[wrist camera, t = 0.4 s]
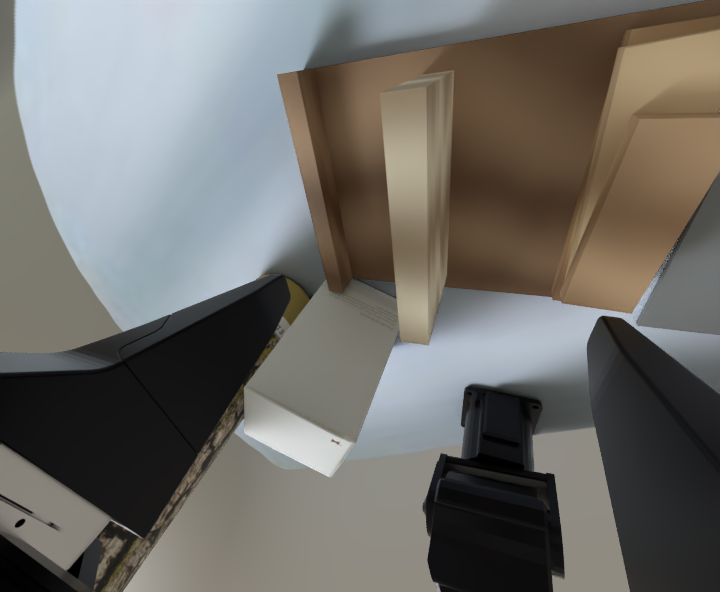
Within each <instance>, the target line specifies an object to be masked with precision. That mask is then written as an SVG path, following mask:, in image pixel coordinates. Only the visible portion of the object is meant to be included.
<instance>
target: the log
mask: <svg viewBox="0 0 720 592" xmlns="http://www.w3.org/2000/svg"><path fill="white" fill-rule="evenodd" d="M265 276H268V275H263V276H261V277H259V278H257V279H256V280H258V279H260V278H263V277H265ZM286 280H287V283H288V287H289V290H290V294H291V299H290V302H289V304H288V306H287V308H286V310H285V312H284V314H283V316H282V318H281V320H280V323H279V325H278V327H277V329H276V331H275V333H274V334H273V336H272V338H271V340H270V341H269V343H268V345H267V346H266V348H265V349H264V351H263V353H262V354H261V356H260V357H259V359H258V361H257V362H256V364H255V365H254V367H253V368H252V370H251V372H250V373H249V375H248V376H247V378H246V380H245V381H244V383H243V384H242V386H241V388H240V389H239V391H238V392H237V394H236V396H235V397H234V399H233V400H232V402H231V403H230V405H229V407H228V408H227V410H226V411H225V413H224V415H223V416H222V418H221V419H220V421H219V423H218V424H217V426H216V427H215V429H214V430H213V432H212V434H211V435H210V437H209V438H208V440H207V442H206V443H205V445H204V446H203V448H202V450H201V451H200V453H199V454H198V456H197V458H196V459H195V461H194V463H193V464H192V466H191V467H190V469H189V471H188V472H187V474H186V475H185V477H184V479H183V480H182V482H181V483H180V485H179V487H178V488H177V490H176V491H175V493H174V494H173V496H172V498H171V499H170V501H169V502H168V504H167V506H166V507H165V509H164V510H163V512H162V514H161V515H160V517H159V518H158V520H157V522H156V523H155V525H154V526H153V528H152V529H151V531H150V532H149V534H148V535H147V536H146V538H145V539H142V538H141V537H139V536H137V535H135V534H134V533H132V532H130V531H129V530H127V529H125V528H123V527H122V526H120V525H118V524H116V523H115V522H113V521H111V520H110V521H109V523H108V524H107V525H106V526H105V527H104V529H103V530H102V531H101V532H100V533H99V534H98V536H97V537H96V538H97V539H98V540H100V541H102V542H103V545H102V550H101V555H100V560H99V565H98V570H97V575H96V580H95V585H94V590H93V591H95V592H123V590H124V589H125V588H126V586H127V585H128V583H129V582H130V580H131V579H132V578H133V576H134V574H135V573H136V572H137V570H138V569H139V567H140V566H141V565H142V563H143V562H144V560H145V559H146V557H147V556H148V555H149V553H150V552H151V550H152V549H153V547H154V546H155V545H156V543H157V542H158V540H159V539H160V537H161V536H162V534H163V533H164V532H165V530H166V529H167V527H168V526H169V525H170V523H171V522H172V520H173V519H174V517H175V516H176V515H177V513H178V512H179V510H180V509H181V507H182V506H183V504H184V503H185V502H186V500H187V499H188V497H189V496H190V494H191V493H192V492H193V490H194V489H195V487H196V486H197V484H198V483H199V481H200V480H201V479H202V477H203V476H204V474H205V473H206V471H207V470H208V469H209V467H210V466H211V464H212V463H213V462H214V460H215V458H216V457H217V456H218V454H219V453H220V452H221V450H222V449H223V447H224V446H225V444H226V443H227V441H228V440H229V439H230V437H231V436H232V434H233V433H234V431H235V430H236V429H237V427H238V426H239V424H240V423H241V421H242V420H243V419H244V387H245V385H246V384H247V383H248V382H249V380H250V379H251V378H252V377H253V375H254V374H255V373H256V371H257V370H258V369H259V367H260V366H261V365H262V363H263V362H264V361H265V359H266V358H267V357H268V355H269V354H270V353H271V351H272V350H273V349H274V347H275V346H276V345H277V343H278V342H279V341H280V339H281V338H282V337H283V335H284V334H285V333H286V331H287V330H288V329H289V328H290V326H291V325H292V323H293V322H294V321H295V319H296V318H297V317H298V315H299V314H300V313H301V311H302V310H303V309H304V307H305V306H306V305H307V303H308V302H309V301H310V299H309V297H308V296H307V294H306V293H305V292H304V290H303V289H302V288H301V287H300V286H299V285H297V284H296V283H295V282H293V281H292V280H290V279H288V278H286Z"/></svg>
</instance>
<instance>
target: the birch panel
mask: <svg viewBox="0 0 720 592" xmlns="http://www.w3.org/2000/svg"><path fill="white" fill-rule="evenodd" d="M453 91H454V70H452V71H445V72H438V73H431V74H424V75H420V76H418V77H415V78H413V79H411V80H408V81H406V82H404V83H401V84H399V85H397V86H394V87H392V88H390V89H387V90H385V91H383V92H380V104H381V116H382V128H383V140H384V152H385V164H386V176H387V188H388V200H389V212H390V224H391V236H392V248H393V260H394V272H395V284H396V296H397V308H398V320H399V332H400V341H405V342H411V343H417V344H423V345H429V341H430V338H431V334H432V330H433V326H434V323H435V319H436V315H437V311H438V307H439V304H440V300H441V296H442V292H443V289H444V285H445V281H446V277H447V260H448V232H449V203H450V175H451V147H452V119H453Z"/></svg>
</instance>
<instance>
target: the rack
mask: <svg viewBox="0 0 720 592" xmlns="http://www.w3.org/2000/svg"><path fill="white" fill-rule="evenodd" d="M718 15H720V0H706V1H700V2H694V3H689V4H683V5H677V6H671V7H666V8H660V9H654V10H648V11H643V12H637V13H631V14H625V15H619V16H614V17H608V18H602V19H596V20H591V21H585V22H579V23H573V24H568V25H562V26H556V27H550V28H544V29H539V30H533V31H527V32H521V33H516V34H510V35H504V36H498V37H493V38H487V39H481V40H475V41H470V42H464V43H458V44H452V45H446V46H441V47H435V48H429V49H423V50H418V51H412V52H406V53H400V54H395V55H389V56H383V57H377V58H372V59H366V60H360V61H354V62H348V63H343V64H337V65H331V66H325V67H320V68H314V69H308V70H301V71H295V72H290V73H284V74H278V75H277V77H278V81H279V85H280V89H281V93H282V97H283V102H284V106H285V110H286V114H287V118H288V122H289V126H290V131H291V135H292V139H293V143H294V147H295V151H296V155H297V160H298V164H299V168H300V172H301V176H302V180H303V184H304V189H305V193H306V197H307V201H308V205H309V209H310V213H311V217H312V222H313V226H314V230H315V234H316V238H317V242H318V246H319V251H320V255H321V259H322V263H323V267H324V271H325V275H326V280H327V284H328V288H329V291H335V292H344V290H345V289H346V287H347V286H348V284H349V283H350V281H351V279H352V278H358V279H369V280H379V281H390V282H395V272H394V260H393V248H392V236H391V224H390V212H389V200H388V188H387V176H386V164H385V152H384V140H383V128H382V116H381V104H380V92H383V91H385V90H387V89H390V88H392V87H394V86H397V85H399V84H401V83H404V82H406V81H408V80H411V79H413V78H415V77H418V76H420V75H424V74H431V73H438V72H445V71H452V70H454V91H453V119H452V147H451V175H450V203H449V232H448V260H447V277H446V281H445V285H444V287H453V288H464V289H474V290H485V291H495V292H506V293H516V294H527V295H537V296H548V297H552V292H551V290H552V286H553V283H554V279H555V276H556V272H557V269H558V265H559V261H560V258H561V254H562V251H563V247H564V244H565V240H566V237H567V233H568V230H569V226H570V223H571V219H572V216H573V212H574V209H575V205H576V201H577V198H578V194H579V191H580V187H581V184H582V180H583V177H584V173H585V170H586V166H587V163H588V159H589V156H590V152H591V148H592V145H593V141H594V138H595V134H596V131H597V127H598V124H599V120H600V117H601V113H602V110H603V106H604V103H605V99H606V96H607V92H608V88H609V85H610V81H611V76H612V72H613V68H614V63H615V59H616V55H617V50H618V48H620V46H621V43H622V39H623V35H624V32H625V30H630V29H636V28H642V27H649V26H655V25H661V24H668V23H674V22H680V21H687V20H693V19H699V18H705V17H712V16H718Z"/></svg>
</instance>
